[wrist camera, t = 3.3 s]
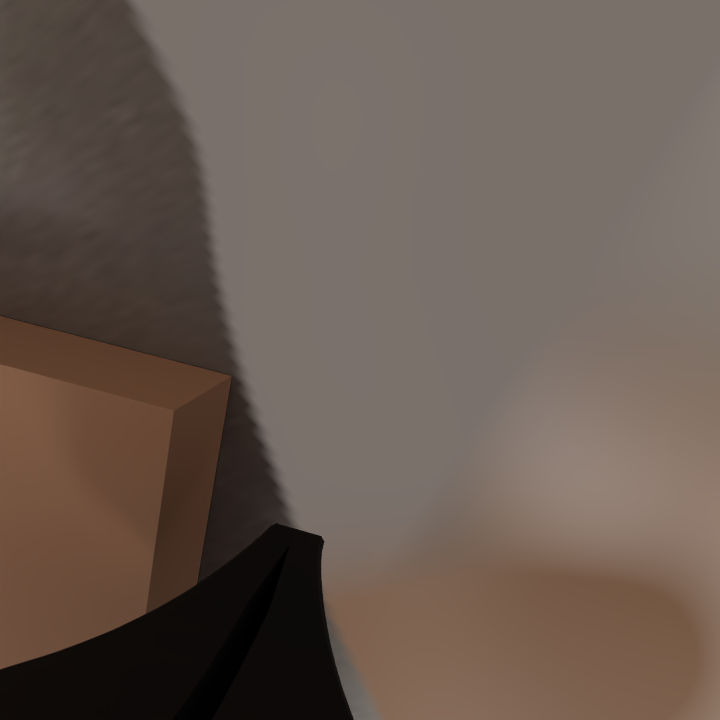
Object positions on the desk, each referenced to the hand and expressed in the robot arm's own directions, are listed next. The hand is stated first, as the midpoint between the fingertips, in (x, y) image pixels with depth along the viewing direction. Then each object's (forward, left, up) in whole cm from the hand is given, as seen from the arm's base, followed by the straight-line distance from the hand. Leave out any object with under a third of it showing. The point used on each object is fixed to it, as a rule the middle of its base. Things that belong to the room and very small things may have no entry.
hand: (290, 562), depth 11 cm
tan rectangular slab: (0, +9, -1) cm, 9 cm away
